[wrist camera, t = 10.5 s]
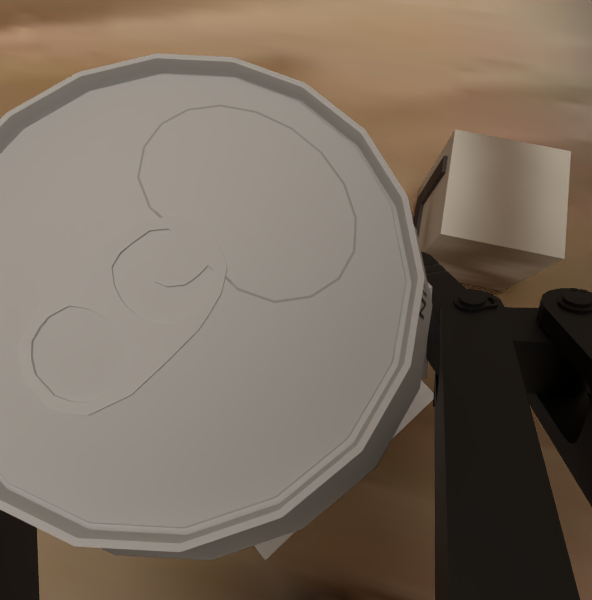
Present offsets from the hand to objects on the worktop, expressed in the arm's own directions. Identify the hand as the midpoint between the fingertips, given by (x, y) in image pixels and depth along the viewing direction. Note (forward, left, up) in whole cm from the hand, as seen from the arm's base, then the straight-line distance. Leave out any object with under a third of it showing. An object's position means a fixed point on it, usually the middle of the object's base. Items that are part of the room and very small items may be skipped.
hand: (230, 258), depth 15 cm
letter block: (-5, -13, -10) cm, 17 cm away
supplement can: (-3, +2, -6) cm, 7 cm away
